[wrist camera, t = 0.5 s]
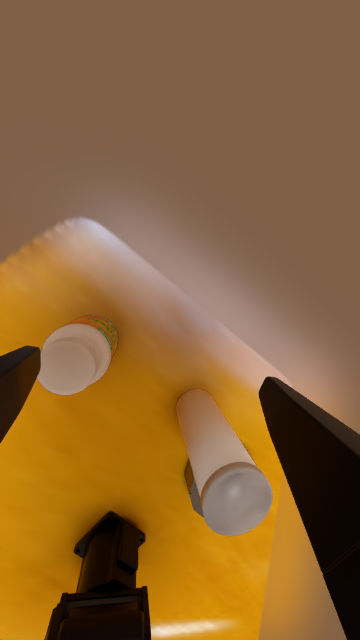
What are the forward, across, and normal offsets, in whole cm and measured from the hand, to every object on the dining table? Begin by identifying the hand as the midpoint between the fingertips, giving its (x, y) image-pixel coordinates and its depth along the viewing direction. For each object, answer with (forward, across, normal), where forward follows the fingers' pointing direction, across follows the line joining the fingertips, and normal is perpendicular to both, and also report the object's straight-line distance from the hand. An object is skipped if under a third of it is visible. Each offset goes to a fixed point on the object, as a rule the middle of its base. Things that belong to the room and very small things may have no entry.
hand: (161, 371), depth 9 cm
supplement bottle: (+16, +6, +9) cm, 19 cm away
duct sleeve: (+13, -8, +16) cm, 22 cm away
